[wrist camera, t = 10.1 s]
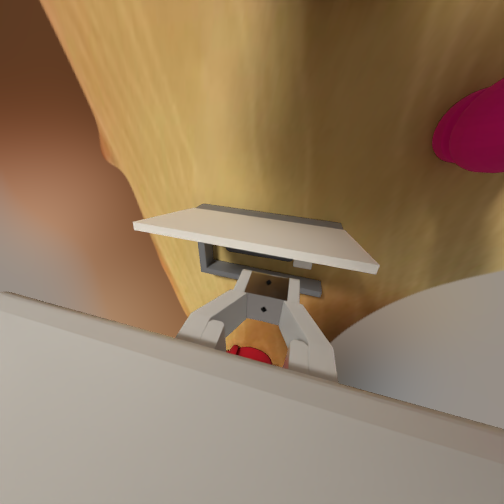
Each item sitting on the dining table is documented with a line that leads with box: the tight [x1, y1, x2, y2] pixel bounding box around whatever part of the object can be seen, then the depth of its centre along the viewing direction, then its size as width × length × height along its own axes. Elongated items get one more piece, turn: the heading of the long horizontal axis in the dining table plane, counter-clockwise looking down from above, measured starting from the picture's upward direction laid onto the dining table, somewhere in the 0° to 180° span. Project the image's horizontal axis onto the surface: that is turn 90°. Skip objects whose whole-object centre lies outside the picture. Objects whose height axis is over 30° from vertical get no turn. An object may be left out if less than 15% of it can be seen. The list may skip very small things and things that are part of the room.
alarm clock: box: [226, 345, 272, 365], centre depth 50 cm, size 10×6×15 cm
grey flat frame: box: [196, 204, 343, 297], centre depth 30 cm, size 12×22×3 cm, turn 86°
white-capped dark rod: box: [226, 247, 312, 270], centre depth 30 cm, size 15×3×3 cm, turn 87°
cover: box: [133, 208, 380, 274], centre depth 21 cm, size 11×22×1 cm
